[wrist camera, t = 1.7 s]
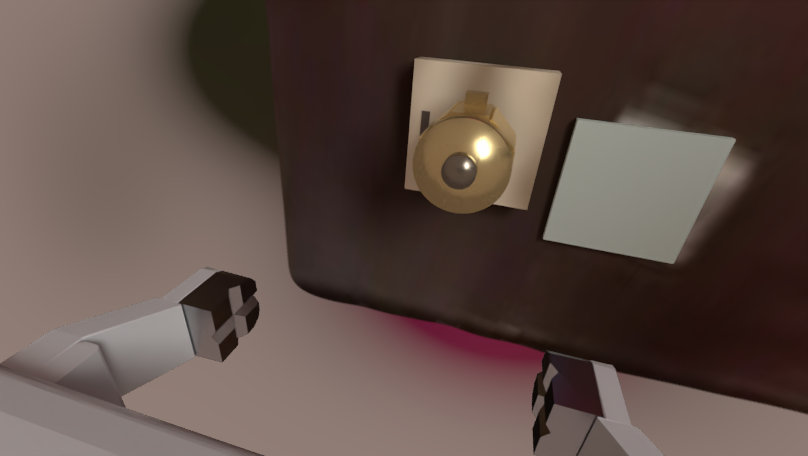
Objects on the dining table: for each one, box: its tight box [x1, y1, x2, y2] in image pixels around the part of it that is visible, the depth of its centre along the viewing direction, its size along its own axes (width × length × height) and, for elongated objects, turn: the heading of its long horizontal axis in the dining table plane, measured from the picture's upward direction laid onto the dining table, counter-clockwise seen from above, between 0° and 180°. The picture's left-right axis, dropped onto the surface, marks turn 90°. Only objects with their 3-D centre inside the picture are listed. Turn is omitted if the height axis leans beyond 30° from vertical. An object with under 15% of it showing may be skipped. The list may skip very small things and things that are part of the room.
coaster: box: [543, 118, 736, 264], centre depth 29 cm, size 10×10×1 cm
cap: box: [412, 90, 516, 214], centre depth 24 cm, size 6×7×6 cm
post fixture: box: [405, 57, 562, 210], centre depth 27 cm, size 10×10×8 cm
